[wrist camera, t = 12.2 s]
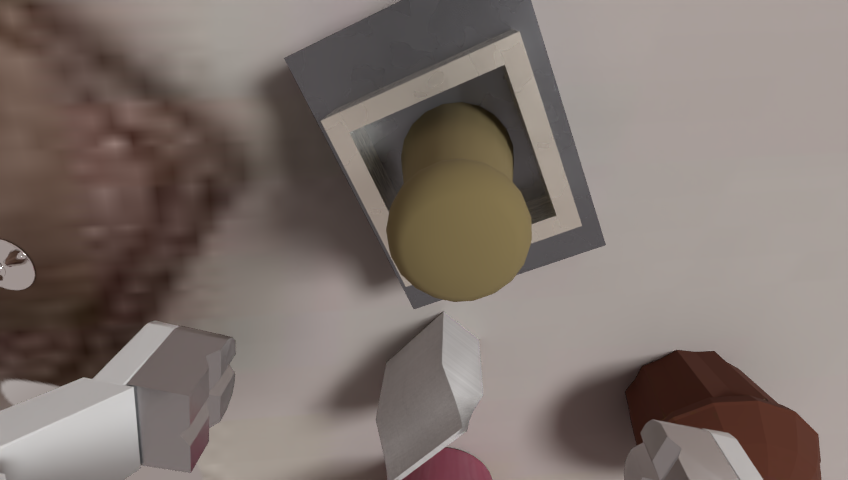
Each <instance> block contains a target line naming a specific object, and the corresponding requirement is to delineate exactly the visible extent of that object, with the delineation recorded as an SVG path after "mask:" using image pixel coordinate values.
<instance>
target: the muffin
mask: <svg viewBox="0 0 848 480" xmlns="http://www.w3.org/2000/svg"><path fill="white" fill-rule="evenodd" d="M625 393H626V398H627V402H628V406H629V411H630V418H631V423H632V427H633V432H634V436H635V440H636V445H639V444H641V443H643V439H642V436H641V431H642V429H643V427H644V426H645V424H646V423H647V422H649V421H650V420H652V419H654V420H659V421H664V422H669V423H675V424H680V425H685V426H691V427H696V428H700V429H703V428H704V429H709V430H715V431H721V432H726V433H729V434H731V435H732V436H733V437H735V438H736V439H737V441H738V442H739V444H740V445H741V447H742V448H743V450H744V451H745V453H746V454H747V456H748V457H749V459H750V460H751V462H752V463H753V465H754V466H755V468H756V469H757V471H758V472H759V474H760V475H761V477H762V478H763V480H821V471H820V462H821V459H820V448H819V437H818V434H817V433H816V432H815V431H814V430H813V429H812V428H811V427H810V426H809V425H808V424H807V423H806V422H805V421H804V420H803V419H802V418H801V417H800V416H799V415H798V414H797V413H796V412H795V411H793V410H791V409H789V408H787V407H785V406H783V405H780V404H778V403H777V402H776V401H775V400H773V399H772V398H771V397H770V396H769V395H768V394H767V393H765V392H764V391H763V390H762V389H761V388H760V387H759V386H758V385H756V384H755V383H754V382H753V381H752V380H751V379H750V378H748V377H747V376H746V375H745V374H744V373H743V372H742V371H741V370H739V369H738V368H736V367H734V366H733V365H731V364H729V363H727V362H726V361H725V360H723V359H722V358H721V357H720V356H719V355H718V354H717V353H716V352H715V351H706V352H691V351H682V350H676V351H674V352H672V353H670V354H668V355H667V356H665V357H663V358H661V359H659V360H656V361H654V362H651V363H649V364H646V365H643V366H642V367H641V369H640V371H639V373H638V375H637V377H636V379H635V380H634V381H633V382H632V384H631V385H630V386H629V387H628V389H627V390H626V391H625Z"/></svg>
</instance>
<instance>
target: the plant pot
mask: <svg viewBox="0 0 848 480" xmlns="http://www.w3.org/2000/svg"><path fill="white" fill-rule="evenodd" d="M402 480H492V477H491V475H490V472H489V471H488V469H487V468H486V467H485V465H484V464H483V463H482V462H481V461H479V460H478V459H477V458H475V457H474V456H472V455H470V454H468V453H466V452H463V451H460V450H457V449H453V448H446V447H445V448H443V449H442V450H441V451H439V452H438V453H437V454H435V455H434V456H433V457H431V458H430V459H429V460H427V461H426V462H425V463H423V464H422V465H421V466H419V467H418V468H417V469H415V470H414V471H413V472H411V473H410V474H409V475H407V476H406V477H405V478H403V479H402Z"/></svg>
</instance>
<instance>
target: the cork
mask: <svg viewBox="0 0 848 480" xmlns="http://www.w3.org/2000/svg"><path fill="white" fill-rule="evenodd" d="M401 162H402V172H403V182H404V184H403V185H402V187H401V188H400V190H399V192H398V194H397V195H396V197H395V199H394V201H393V203H392V205H391V207H390V211H389V216H388V222H387V227H386V233H387V239H388V245H389V251H390V254H391V257H392V259H393V261H394V263H395V265H396V266H397V268H398V270H399V272H400V274H401V275H402V276H403V277H404V278H405V279H406V280H408V281H409V282H410V283H411V284H412V285H413V286H414V287H415V288H417V289H419V290H420V291H422V292H424V293H426V294H428V295H430V296H432V297H434V298H438V299H443V300H448V301H453V302H459V301H474V300H477V299H479V298H482V297H485V296H488V295H491V294H493V293H495V292H497V291H498V290H499V289H501V288H502V287H504V286H505V285H506V284H508V283H509V282H511V281H512V280H513V278H514V277H515V276H516V274H517V273H518V272H519V270H520V269H521V268H522V266H523V265H524V263H525V260H526V257H527V254H528V251H529V248H530V245H531V240H532V223H531V215H530V213H529V210H528V208H527V205H526V203H525V200H524V198H523V195H522V193H521V191H520V190H519V189H518V188H517V187H516V185H515V184H514V183H513V169H514V154H513V144H512V141H511V139H510V136H509V133H508V131H507V129H506V127H505V126H504V125H503V124H502V123H501V122H500V120H499V119H498V118H497V117H496V116H495V115H494V114H492V113H491V112H489V111H487V110H486V109H484V108H482V107H480V106H478V105H473V104H468V103H464V102H457V103H448V104H442V105H440V106H437V107H435V108H433V109H431V110H429V111H427V112H425V113H424V114H423V115H422V116H421V117H420V118H419V119H418V120H417V121H416V122H414V123H413V124H412V126H411V128H410V130H409V132H408V134H407V135H406V137H405V139H404V143H403V149H402V154H401Z"/></svg>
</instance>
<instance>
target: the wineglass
mask: <svg viewBox="0 0 848 480" xmlns="http://www.w3.org/2000/svg"><path fill="white" fill-rule="evenodd" d="M35 275H36V273H35V268H34V265H33V263H32V261H31V259H30V258H29V257H28V255H27V254H26V253H25V252H24V251H23V250H22V249H20V248H19V247H18V246H16V245H15V244H13V243H11V242H9V241H6V240H2V239H0V287H2V288H5V289H9V290H23V289H26V288H28V287H30V286H31V285H32V284H33V282H34V280H35Z"/></svg>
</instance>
